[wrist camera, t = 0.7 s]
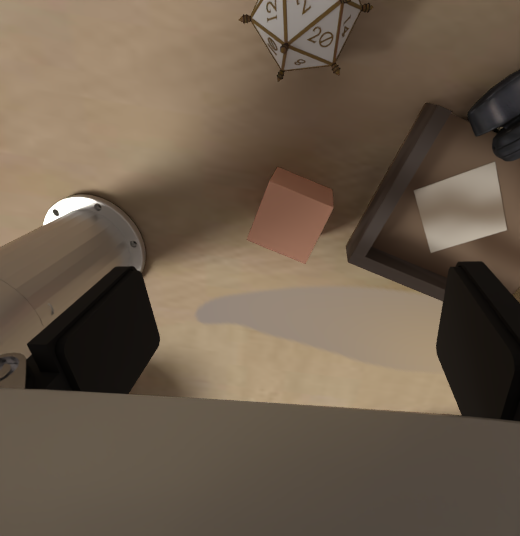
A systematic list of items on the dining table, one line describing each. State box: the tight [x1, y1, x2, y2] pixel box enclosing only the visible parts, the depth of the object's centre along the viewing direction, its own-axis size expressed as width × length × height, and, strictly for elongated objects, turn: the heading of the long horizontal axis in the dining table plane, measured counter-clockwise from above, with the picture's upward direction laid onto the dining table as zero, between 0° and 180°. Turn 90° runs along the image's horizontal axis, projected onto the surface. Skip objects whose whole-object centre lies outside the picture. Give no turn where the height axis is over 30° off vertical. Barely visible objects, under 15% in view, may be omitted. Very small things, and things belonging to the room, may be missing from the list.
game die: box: [239, 0, 373, 81], centre depth 26 cm, size 9×8×10 cm
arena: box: [346, 103, 520, 301], centre depth 33 cm, size 15×18×4 cm
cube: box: [247, 167, 334, 264], centre depth 34 cm, size 6×6×6 cm
